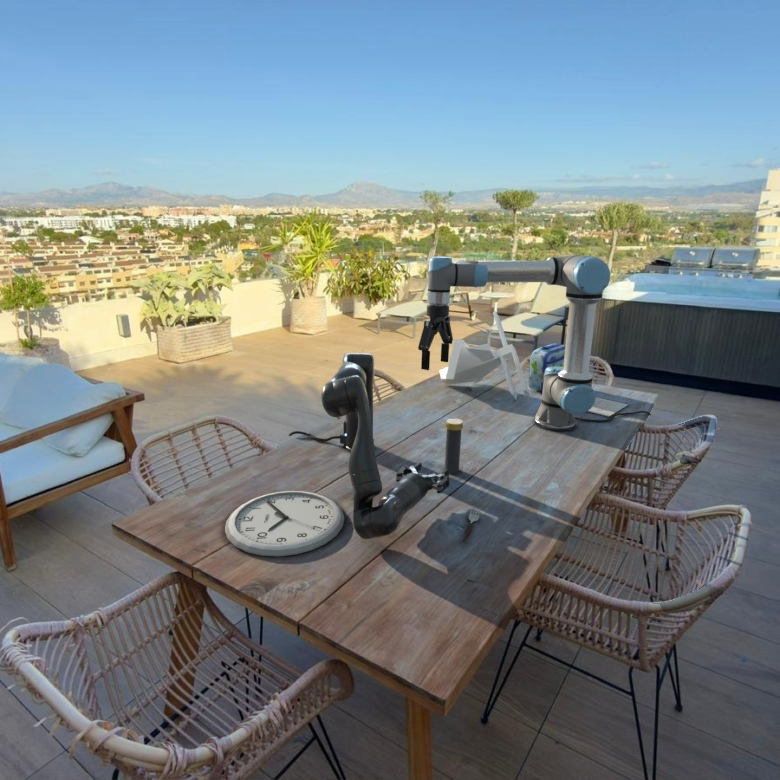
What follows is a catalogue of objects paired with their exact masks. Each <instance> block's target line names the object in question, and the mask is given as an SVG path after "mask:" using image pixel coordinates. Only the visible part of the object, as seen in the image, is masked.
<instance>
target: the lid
mask: <svg viewBox="0 0 780 780" xmlns="http://www.w3.org/2000/svg"><path fill="white" fill-rule="evenodd" d="M445 428H446V430H447V429H449V430H461V431H462V430H463V428H464V420H462V419H459V418H448V419H446V421H445Z"/></svg>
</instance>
